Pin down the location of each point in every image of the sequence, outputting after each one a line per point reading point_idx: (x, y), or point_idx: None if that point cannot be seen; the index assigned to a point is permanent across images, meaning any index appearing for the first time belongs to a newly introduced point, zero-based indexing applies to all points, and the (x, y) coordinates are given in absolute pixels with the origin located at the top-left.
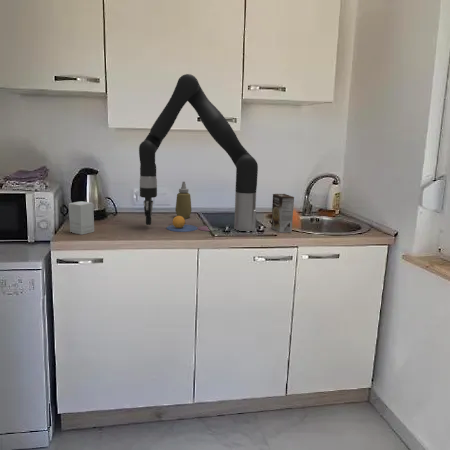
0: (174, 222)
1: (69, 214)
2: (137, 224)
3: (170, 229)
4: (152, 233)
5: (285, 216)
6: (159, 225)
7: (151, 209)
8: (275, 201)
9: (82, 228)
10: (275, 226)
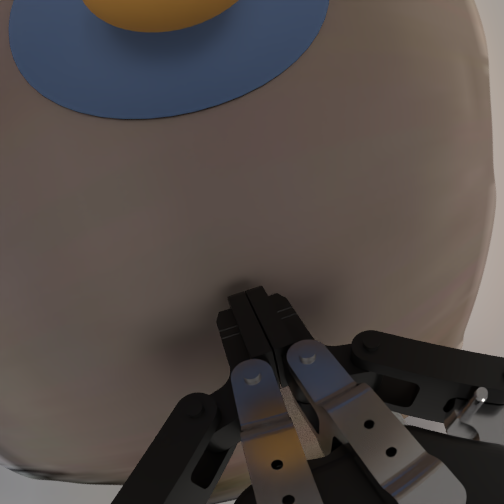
0: None
1: None
2: (155, 392)
3: (280, 50)
4: (412, 186)
5: None
6: (96, 236)
7: (385, 410)
8: None
9: (404, 422)
10: None
